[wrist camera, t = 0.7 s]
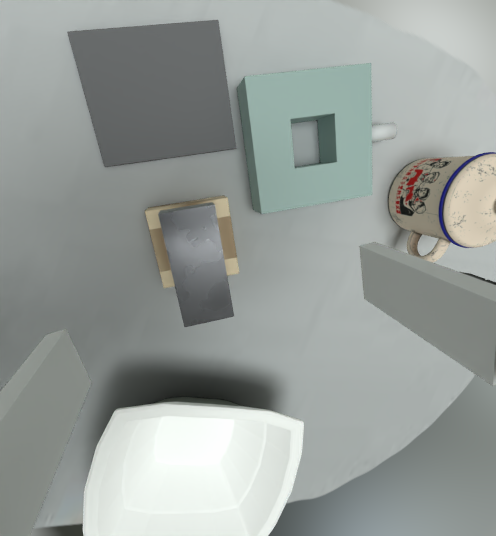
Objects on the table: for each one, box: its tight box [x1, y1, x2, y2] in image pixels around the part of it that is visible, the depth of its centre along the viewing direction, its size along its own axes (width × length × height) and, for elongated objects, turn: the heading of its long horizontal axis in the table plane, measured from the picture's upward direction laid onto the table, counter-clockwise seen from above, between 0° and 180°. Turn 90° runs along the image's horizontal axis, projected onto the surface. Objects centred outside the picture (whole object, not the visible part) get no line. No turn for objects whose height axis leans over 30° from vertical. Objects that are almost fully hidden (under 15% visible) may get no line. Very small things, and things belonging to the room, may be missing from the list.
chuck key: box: [158, 202, 234, 327], centre depth 29 cm, size 4×9×12 cm, turn 8°
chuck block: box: [237, 63, 397, 214], centre depth 32 cm, size 16×12×4 cm
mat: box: [68, 20, 236, 167], centre depth 29 cm, size 13×11×1 cm
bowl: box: [83, 397, 304, 536], centre depth 38 cm, size 22×23×8 cm
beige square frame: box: [145, 196, 239, 288], centre depth 33 cm, size 8×8×3 cm
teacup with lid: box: [389, 152, 496, 263], centre depth 33 cm, size 12×9×12 cm
